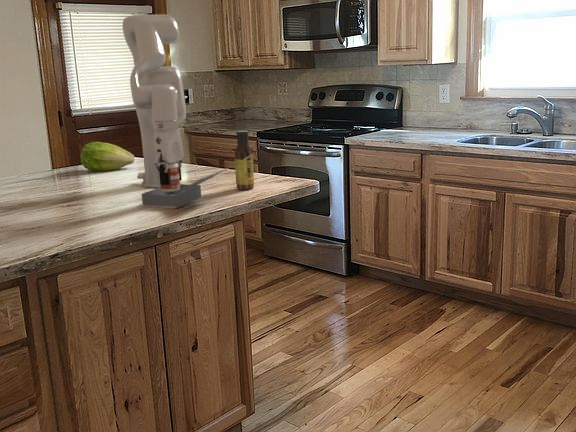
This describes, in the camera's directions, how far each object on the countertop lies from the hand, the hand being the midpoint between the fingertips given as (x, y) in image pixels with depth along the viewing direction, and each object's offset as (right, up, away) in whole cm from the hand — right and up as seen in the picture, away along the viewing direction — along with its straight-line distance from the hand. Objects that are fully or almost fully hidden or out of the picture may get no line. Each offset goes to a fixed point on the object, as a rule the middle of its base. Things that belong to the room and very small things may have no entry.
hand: (171, 182), depth 197 cm
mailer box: (0, -6, +2) cm, 6 cm away
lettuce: (-39, +9, +65) cm, 76 cm away
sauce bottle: (+23, -1, +17) cm, 28 cm away
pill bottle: (0, -3, +1) cm, 3 cm away
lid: (+10, 0, -4) cm, 11 cm away
